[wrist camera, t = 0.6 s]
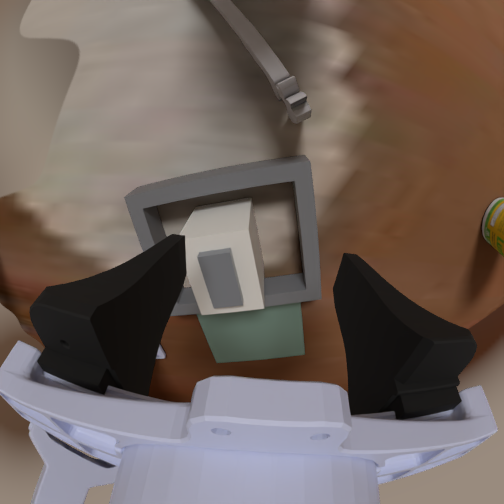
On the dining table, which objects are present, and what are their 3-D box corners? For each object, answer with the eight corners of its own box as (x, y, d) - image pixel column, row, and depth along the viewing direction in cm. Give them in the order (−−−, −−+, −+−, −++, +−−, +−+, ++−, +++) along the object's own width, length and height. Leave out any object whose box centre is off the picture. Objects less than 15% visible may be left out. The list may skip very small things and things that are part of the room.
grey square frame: (176, 299, 26) (170, 315, 24) (137, 187, 21) (124, 197, 19) (316, 281, 25) (321, 298, 23) (304, 155, 20) (310, 161, 17)
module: (213, 269, 25) (200, 320, 19) (195, 206, 22) (172, 245, 16) (263, 263, 24) (264, 314, 18) (251, 197, 21) (248, 233, 16)
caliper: (303, 115, 18) (321, 118, 13) (291, 122, 19) (303, 127, 13) (169, -58, 10) (145, -91, 5) (158, -51, 10) (131, -83, 5)
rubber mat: (217, 358, 31) (216, 362, 30) (196, 307, 27) (195, 311, 26) (304, 350, 30) (304, 354, 29) (299, 295, 26) (300, 299, 25)
